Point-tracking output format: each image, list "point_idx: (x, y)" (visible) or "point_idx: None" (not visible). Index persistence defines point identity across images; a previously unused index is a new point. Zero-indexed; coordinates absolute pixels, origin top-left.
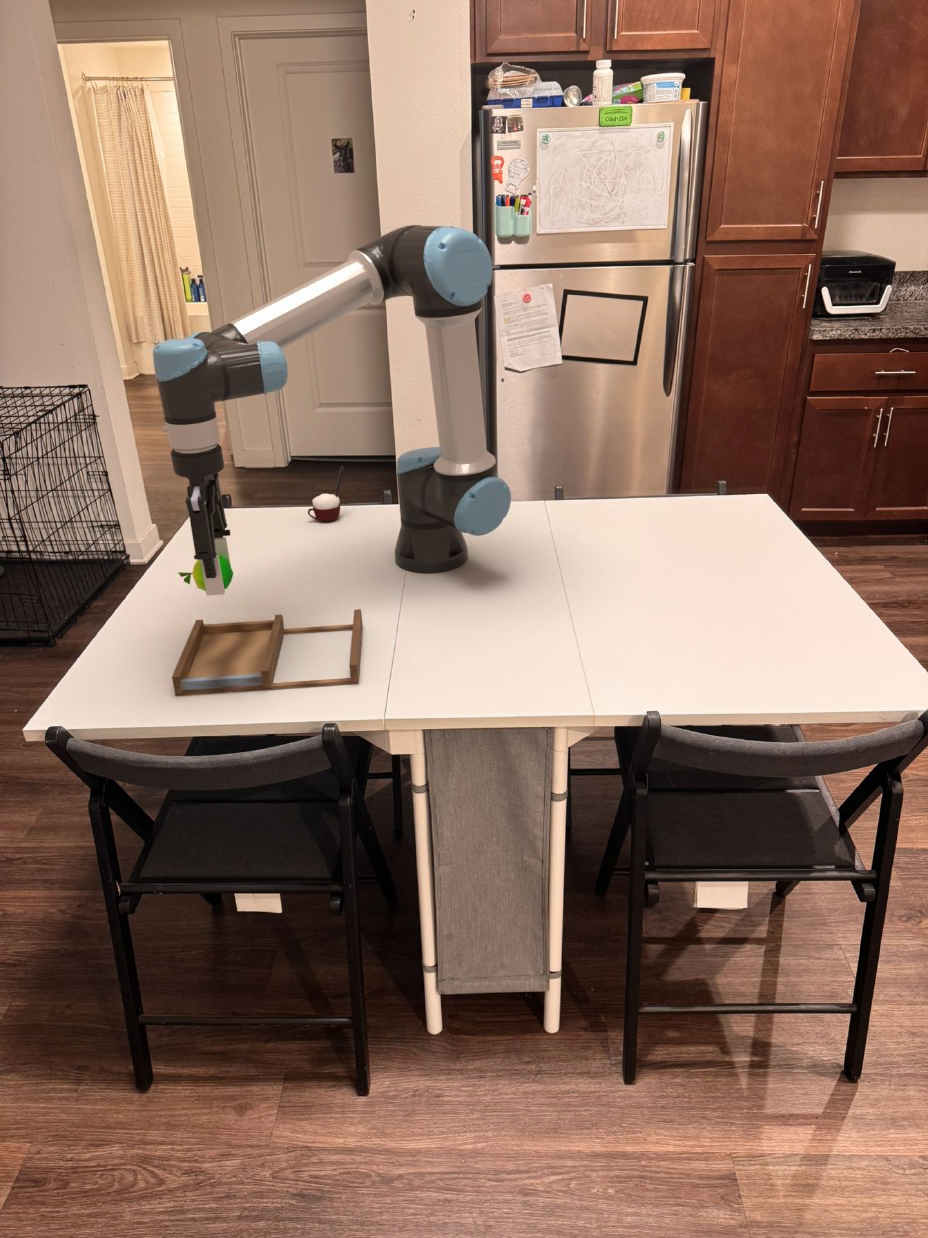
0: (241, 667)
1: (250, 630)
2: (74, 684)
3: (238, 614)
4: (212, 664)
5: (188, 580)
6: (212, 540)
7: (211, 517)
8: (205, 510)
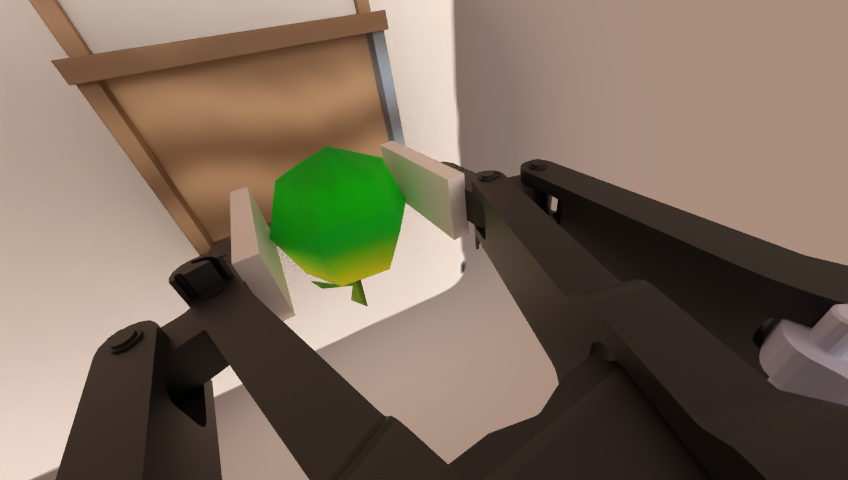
0: (323, 103)
1: (151, 151)
2: (388, 312)
3: (36, 237)
4: None
5: (325, 284)
6: (529, 201)
7: (584, 274)
8: (804, 266)
